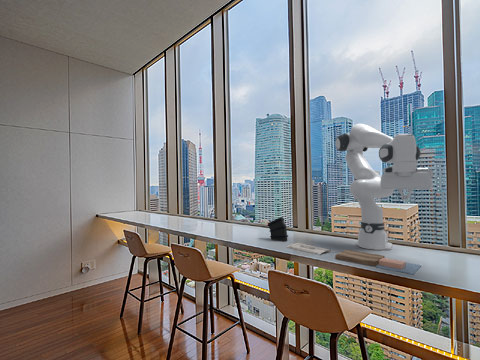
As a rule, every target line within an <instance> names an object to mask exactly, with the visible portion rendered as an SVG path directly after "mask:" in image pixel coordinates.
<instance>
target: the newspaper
mask: <svg viewBox="0 0 480 360" xmlns="http://www.w3.org/2000/svg"><path fill="white" fill-rule="evenodd" d="M286 248H288V249H291V250H295V251H300V252H305V253H308V252H309V253H310V254H313V253H314V254H313V255H317V254H319V255H318V256H320V255H321V254H324V253H330V252H331V251H332V249H328V248H323V247H319V246H316V245H309V244H305V243H300V242H294V243H292V244H289V245H287V246H286ZM309 253H308V254H309Z"/></svg>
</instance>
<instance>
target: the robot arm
mask: <svg viewBox="0 0 480 360" xmlns="http://www.w3.org/2000/svg"><path fill="white" fill-rule="evenodd" d="M334 141H335V142H334V143H335V147H336V150H338V151H339V152H346V154H345V161H346V164H347V167H348V169H349V171H350V172H351V174H352V176H353V178H355V180H353V181H352V182H351V183H350V185H349V193H350V194H351V196H353V197H354V198H355V199H356V201H357V202H358V205H359V207H360V212H361V215H360V216H361V222H360V229H359V231H358V235H357V242H355V243H354V244H355V246H358V247H360V248H363V249H366V250H367V249H368V250H373V251H374V250H376V251H377V250H379V251H381V250H385V251H386V250H388V251H390V250H392V247H393V243H391V242H389V236H388V233H387V232H386V230H385V222H384V210H383V208H382V207H381V206H379V205H378V204H377V203H376V200H375V199H384V198H385V199H386V198H388V197H391V196H393V194H394V192H395V190H398V193H399V195H400V196H401V200H410V199H411V195H412V193H413V190H432V189H433V187H434V184H433V176H434V170H432V169H430V168H429V167H425V168H423V167H419V168H418V167H417V166H418V165H417V164H418V163H417V162H418V160H419V158H420V157H421V149H420V148H419V146H418V145H417V141H416V137H415V135H414V134H411V133H397V134H395V135H394V137H392V136H390V135H387V134H385V133H383V132H382V131H379V130H377V129H376V128H374V127H372V126H370V125H367V124H365V123H357V124H354V125H353V126H352V127H351V129H350V132H348V133H345V132H344V133H343V134H340V135H338V136H337V137H336V138H335V140H334ZM368 149H379V150H378V158H379V159H380V161H381V162H382V163H386V164H393V165H390V166H388V167H384V168H383V169H382V173H383V174H382V175H380V174H379V173H377V172H376V170H374V169H373V168H372V166H371V165H370V163H369V162H368V160H367V159H366V157H365V156H364V152H367V151H368ZM404 190H407V192H408V193H407V194H406V195H405V194H404V193H403V191H404Z"/></svg>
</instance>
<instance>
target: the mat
mask: <svg viewBox="0 0 480 360" xmlns="http://www.w3.org/2000/svg"><path fill="white" fill-rule="evenodd" d="M421 267H422V264H419V263H417V264H416V263H411V262H410V263H409V262H406V266H405V267H404V268H403V269H397V268H392V267H387V266H382V265H379V264H378V265H377V266H375V268H377V269H383V270H388V271H392V272H397V273H403V274H407V275H413V276H414V274H416V272H418V270H419V269H420V268H421Z"/></svg>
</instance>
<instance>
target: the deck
mask: <svg viewBox="0 0 480 360" xmlns="http://www.w3.org/2000/svg"><path fill="white" fill-rule="evenodd" d="M382 258H386V256H385V255H383V254H382V255H381V254H376V253H372V252H371V253H370V252H364V251H357V250H353V249H352V250H351V249H345V250H343V251H340V252H339V253H336V254H334V260H339V261H345V262H351V263H356V264H360V265H365V266H370V267H376V266H377V265H379V260H380V259H382Z"/></svg>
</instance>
